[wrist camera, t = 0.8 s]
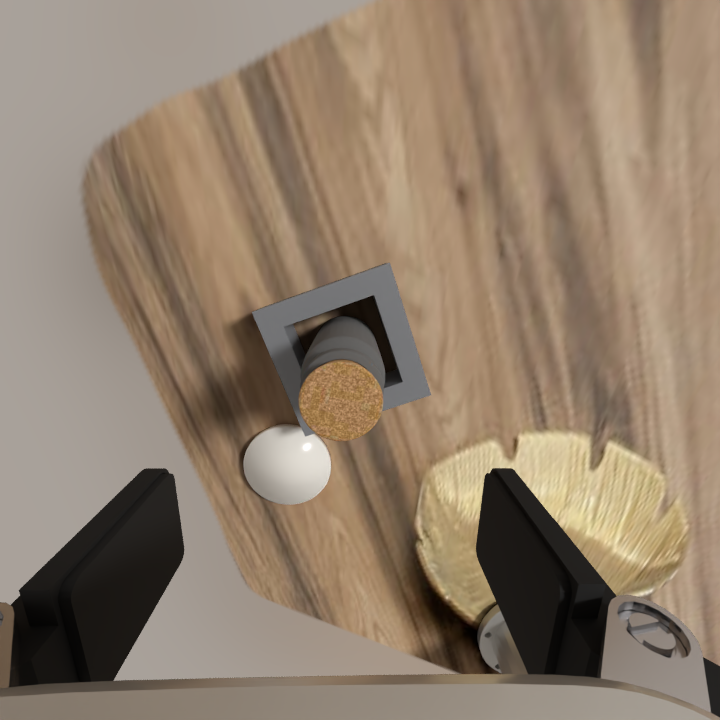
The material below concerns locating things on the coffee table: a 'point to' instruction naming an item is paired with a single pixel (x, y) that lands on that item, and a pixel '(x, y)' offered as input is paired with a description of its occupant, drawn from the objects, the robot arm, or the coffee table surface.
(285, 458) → the white round part
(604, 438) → the coffee table surface
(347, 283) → the square frame
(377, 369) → the bottle
